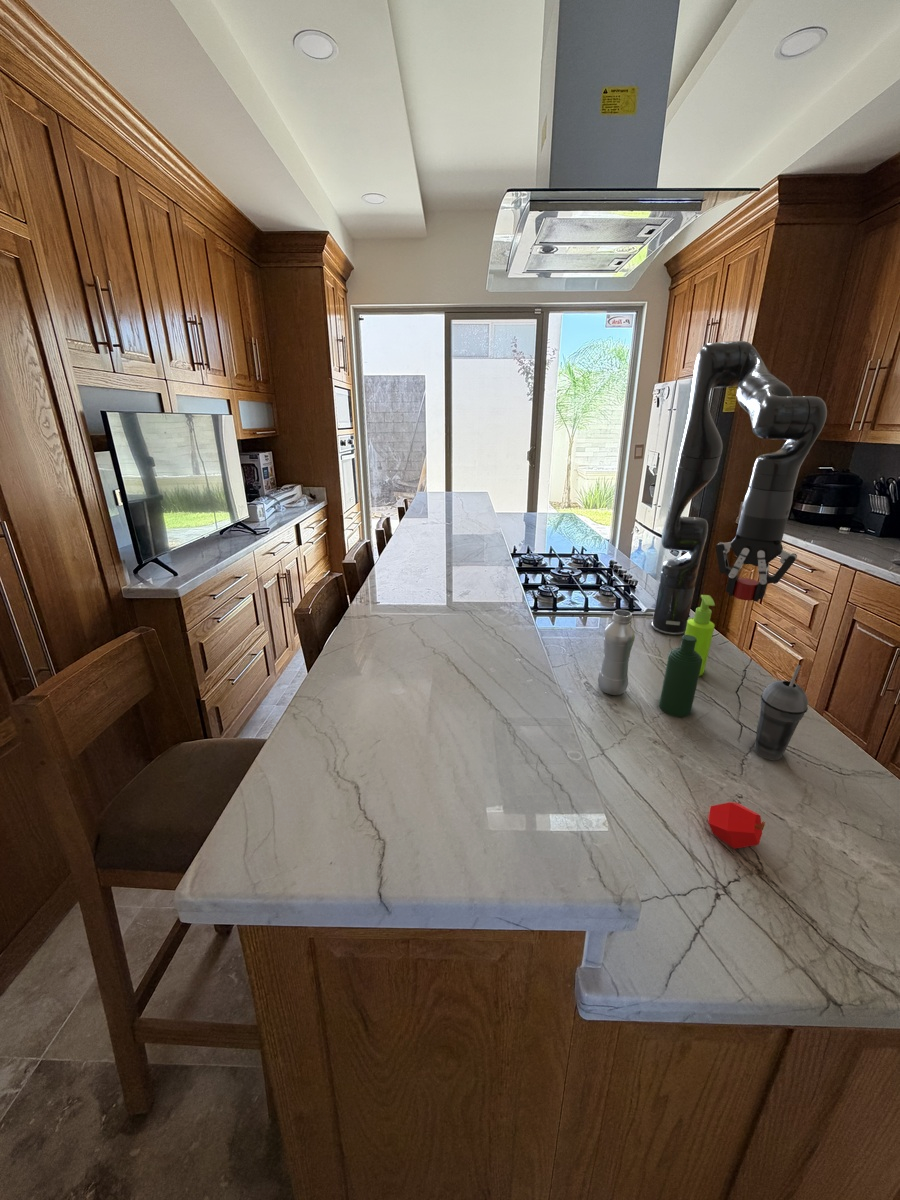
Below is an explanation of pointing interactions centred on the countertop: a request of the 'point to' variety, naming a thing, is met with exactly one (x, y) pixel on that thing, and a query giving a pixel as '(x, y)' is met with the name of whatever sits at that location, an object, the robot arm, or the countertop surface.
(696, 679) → the oil bottle
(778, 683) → the beverage cup
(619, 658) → the plastic bottle
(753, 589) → the cap
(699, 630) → the soap dispenser
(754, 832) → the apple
